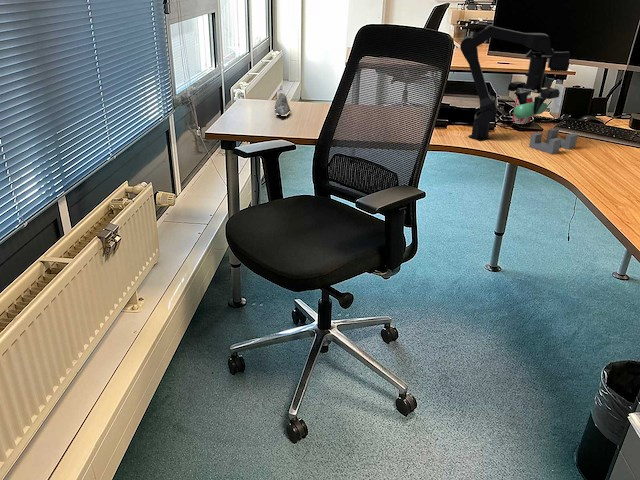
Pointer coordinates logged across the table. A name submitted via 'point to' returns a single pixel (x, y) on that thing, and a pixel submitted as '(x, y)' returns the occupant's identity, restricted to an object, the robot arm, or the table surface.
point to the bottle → (528, 110)
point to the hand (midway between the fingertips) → (528, 112)
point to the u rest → (552, 141)
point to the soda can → (526, 119)
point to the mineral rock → (282, 105)
